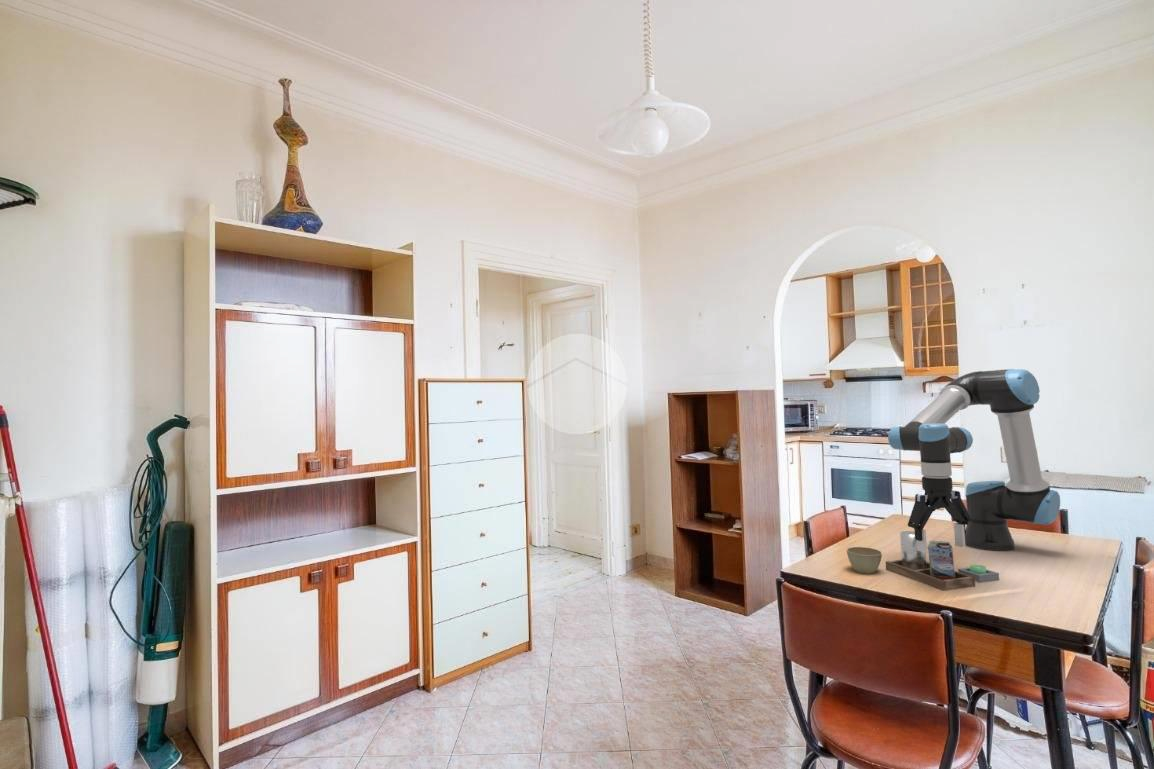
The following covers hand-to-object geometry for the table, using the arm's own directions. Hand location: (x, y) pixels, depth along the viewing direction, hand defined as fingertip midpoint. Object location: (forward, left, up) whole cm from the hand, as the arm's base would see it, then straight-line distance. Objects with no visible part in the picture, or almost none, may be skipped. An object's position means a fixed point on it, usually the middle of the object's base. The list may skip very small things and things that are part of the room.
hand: (941, 549), depth 164 cm
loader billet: (0, -10, -10) cm, 14 cm away
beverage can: (0, 0, -10) cm, 10 cm away
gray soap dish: (-13, 0, -11) cm, 17 cm away
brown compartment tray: (0, -5, -11) cm, 12 cm away
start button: (-13, 0, -9) cm, 16 cm away
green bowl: (+12, -17, -11) cm, 24 cm away
